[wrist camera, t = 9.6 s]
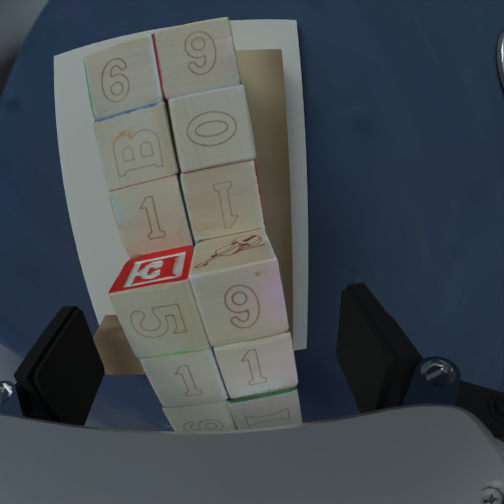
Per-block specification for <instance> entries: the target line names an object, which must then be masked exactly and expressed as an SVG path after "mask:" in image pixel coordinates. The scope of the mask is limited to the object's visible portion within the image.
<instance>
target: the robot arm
mask: <svg viewBox="0 0 504 504" xmlns="http://www.w3.org/2000/svg"><path fill="white" fill-rule="evenodd" d="M497 64H498V70H499V75H500V79H501V83H502V86H503V89H504V32H503V33H502V34H501V35H500V38H499V40H498V46H497ZM336 352H337V358H338V361H339V363H340V366H341V368H342V370H343V373H344V375H345V377H346V380H347V382H348V384H349V387H350V389H351V391H352V394H353V396H354V399H355V401H356V403H357V406H358V408H359V411H360V413H359V414H354V415H348V416H343V417H337V418H332V419H326V420H319V421H312V422H306V423H299V424H292V425H284V426H275V427H266V428H255V429H242V430H226V431H200V432H162V431H136V430H121V429H108V428H98V427H88V426H84V425H85V422H86V420H87V417H88V414H89V411H90V409H91V406H92V403H93V401H94V398H95V396H96V393H97V391H98V388H99V386H100V383H101V381H102V378H103V376H104V365H103V362H102V360H101V358H100V355H99V353H98V350H97V348H96V345H95V343H94V340H93V338H92V335H91V332H90V330H89V327H88V324H87V322H86V319H85V316H84V313H83V311H82V310H79V308H78V307H76V306H65V307H62V308H61V309H60V310H59V312H58V313H57V314H56V316H55V317H54V318H53V320H52V321H51V322H50V324H49V325H48V326H47V328H46V329H45V330H44V332H43V333H42V335H41V336H40V337H39V339H38V340H37V341H36V343H35V344H34V346H33V347H32V349H31V350H30V351H29V353H28V354H27V356H26V357H25V359H24V360H23V362H22V363H21V365H20V366H19V368H18V369H17V371H16V372H15V374H14V377H15V379H16V381H17V383H16V384H15V385H14V383H12V382H10V381H7V380H6V381H0V504H504V393H503V392H499V391H496V390H492V389H488V388H485V387H481V386H478V385H474V384H471V383H468V382H464V381H461V380H460V371H459V369H458V367H457V366H456V365H455V364H454V363H453V362H452V361H450V360H448V359H446V358H443V357H436V356H434V357H427V358H425V359H423V358H422V357H421V355H420V354H419V352H418V351H417V350H416V348H415V347H414V346H413V344H412V343H411V342H410V340H409V339H408V337H407V336H406V335H405V333H404V332H403V331H402V329H401V328H400V327H399V325H398V324H397V323H396V321H395V320H394V319H393V318H392V317H391V316H389V315H388V313H387V312H386V311H385V310H384V308H383V307H382V306H381V304H380V303H379V302H378V300H377V299H376V298H375V297H374V295H373V294H372V293H371V291H370V290H369V289H368V288H367V286H366V285H365V284H364V283H360V284H352V285H348V286H347V288H346V289H345V290H342V296H341V308H340V320H339V330H338V340H337V350H336Z"/></svg>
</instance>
